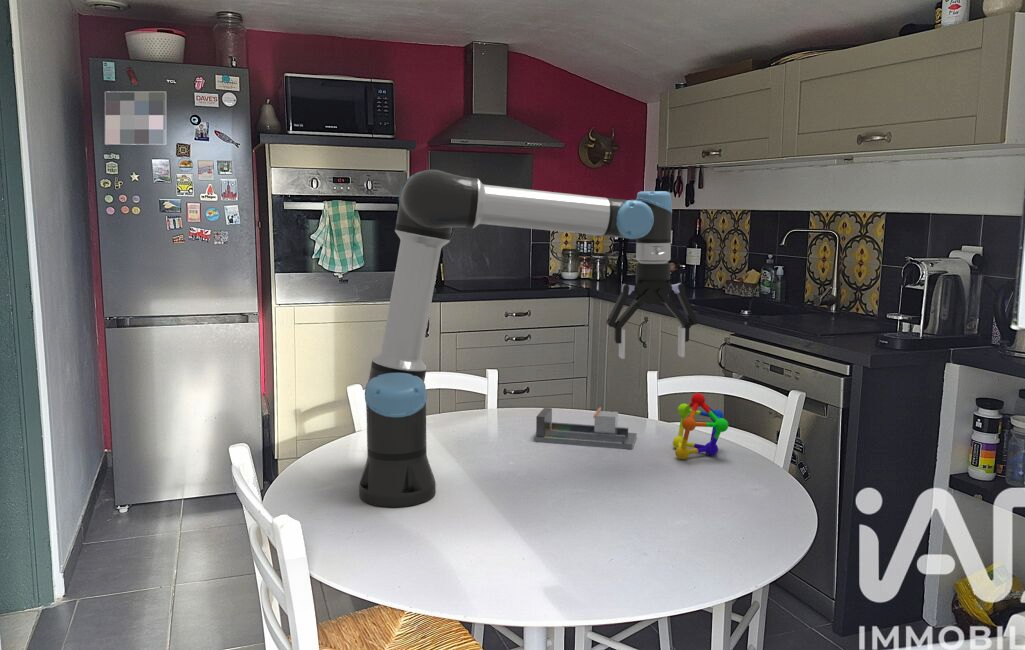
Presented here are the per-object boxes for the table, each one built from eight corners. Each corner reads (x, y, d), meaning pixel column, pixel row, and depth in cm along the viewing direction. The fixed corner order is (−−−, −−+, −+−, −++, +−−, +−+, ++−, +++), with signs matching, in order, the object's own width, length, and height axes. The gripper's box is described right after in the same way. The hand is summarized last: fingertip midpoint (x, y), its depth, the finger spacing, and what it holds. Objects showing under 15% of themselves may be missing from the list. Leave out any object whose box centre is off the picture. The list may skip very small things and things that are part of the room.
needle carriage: (593, 438, 197) (593, 416, 196) (598, 428, 205) (599, 407, 205) (613, 440, 195) (614, 417, 195) (618, 430, 204) (619, 408, 203)
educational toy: (734, 467, 185) (740, 404, 181) (678, 468, 184) (682, 405, 180) (713, 441, 200) (718, 382, 196) (661, 442, 199) (665, 383, 195)
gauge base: (533, 441, 200) (534, 416, 199) (542, 430, 210) (542, 407, 209) (632, 449, 194) (633, 424, 193) (636, 437, 204) (637, 413, 203)
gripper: (600, 264, 175) (600, 361, 178) (714, 262, 178) (711, 358, 181) (594, 261, 183) (593, 355, 186) (702, 260, 185) (700, 352, 188)
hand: (651, 357), depth 183 cm, fingers open, 13 cm apart
